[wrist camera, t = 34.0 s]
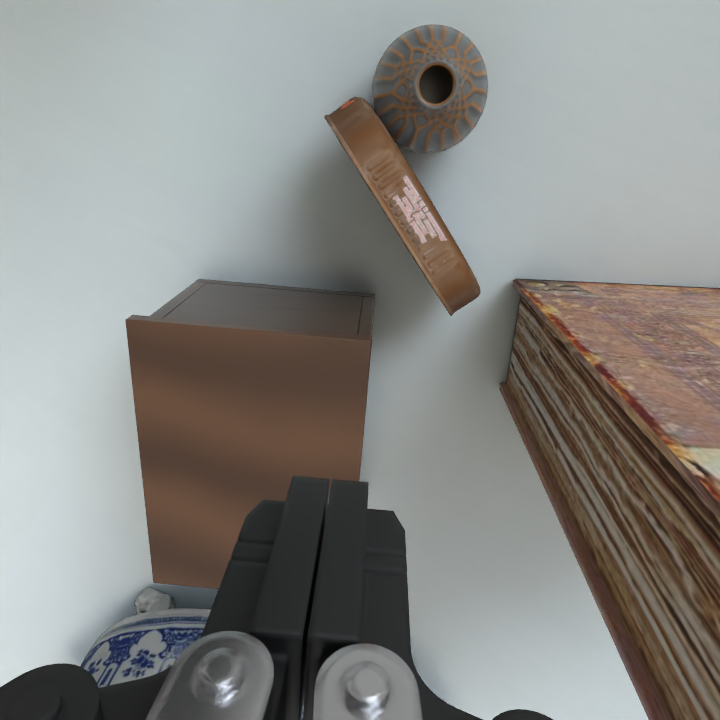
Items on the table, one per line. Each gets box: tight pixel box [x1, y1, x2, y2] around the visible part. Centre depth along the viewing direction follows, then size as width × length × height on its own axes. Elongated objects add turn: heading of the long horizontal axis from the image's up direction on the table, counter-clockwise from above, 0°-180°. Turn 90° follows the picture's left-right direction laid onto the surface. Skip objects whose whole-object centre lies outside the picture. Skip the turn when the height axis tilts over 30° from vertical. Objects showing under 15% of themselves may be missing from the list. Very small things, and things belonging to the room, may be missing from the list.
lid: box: [126, 315, 372, 589], centre depth 33 cm, size 20×14×1 cm
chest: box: [150, 279, 375, 336], centre depth 39 cm, size 19×14×11 cm
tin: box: [325, 97, 480, 316], centre depth 34 cm, size 15×3×8 cm, turn 34°
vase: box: [372, 25, 488, 153], centre depth 31 cm, size 7×7×9 cm
